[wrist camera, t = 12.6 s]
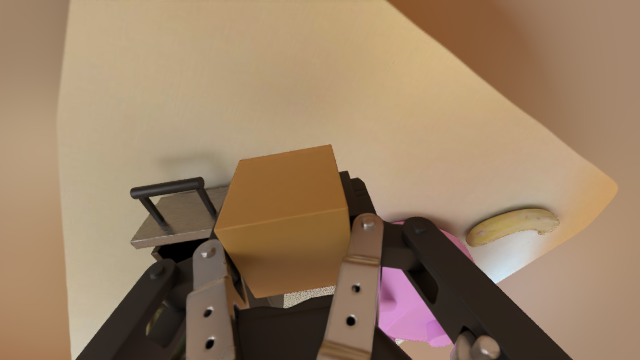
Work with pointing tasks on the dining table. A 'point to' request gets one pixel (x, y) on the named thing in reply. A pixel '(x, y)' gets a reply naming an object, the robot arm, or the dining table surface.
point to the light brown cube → (286, 221)
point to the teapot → (410, 307)
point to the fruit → (512, 225)
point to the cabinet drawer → (177, 217)
